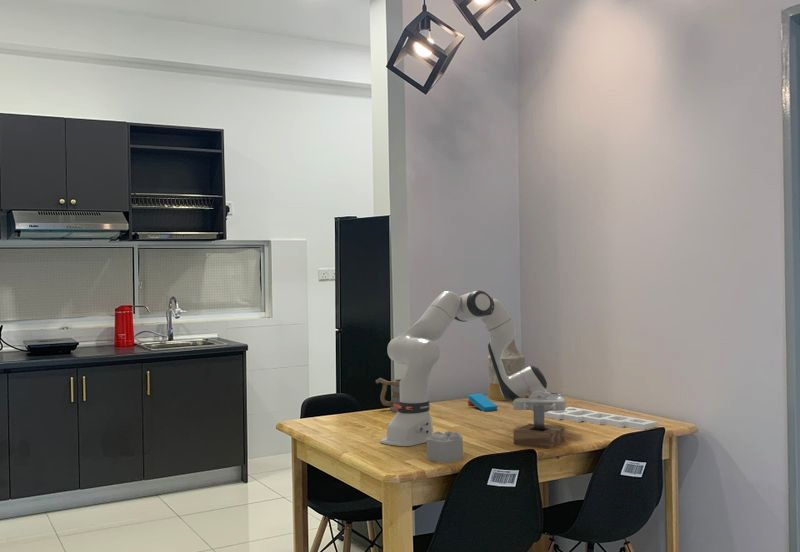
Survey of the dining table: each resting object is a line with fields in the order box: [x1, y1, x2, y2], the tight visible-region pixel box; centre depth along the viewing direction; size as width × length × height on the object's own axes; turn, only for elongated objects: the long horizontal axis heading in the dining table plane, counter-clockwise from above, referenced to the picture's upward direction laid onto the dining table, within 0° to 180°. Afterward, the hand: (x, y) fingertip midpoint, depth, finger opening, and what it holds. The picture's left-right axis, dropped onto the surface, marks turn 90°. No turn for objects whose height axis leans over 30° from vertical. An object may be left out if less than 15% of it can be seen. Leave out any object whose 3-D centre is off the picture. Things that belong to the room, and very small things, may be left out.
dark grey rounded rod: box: [532, 404, 546, 431], centre depth 278 cm, size 4×4×13 cm
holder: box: [544, 406, 658, 431], centre depth 313 cm, size 45×18×3 cm, turn 36°
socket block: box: [513, 423, 566, 449], centre depth 278 cm, size 14×14×5 cm
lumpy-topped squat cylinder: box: [426, 430, 464, 464], centre depth 258 cm, size 10×13×9 cm
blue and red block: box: [467, 392, 498, 412], centre depth 351 cm, size 7×7×18 cm
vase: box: [487, 338, 526, 402], centre depth 377 cm, size 18×18×30 cm
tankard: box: [375, 377, 402, 413], centre depth 350 cm, size 20×13×15 cm, turn 74°
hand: (539, 407), depth 287 cm, fingers open, 8 cm apart
